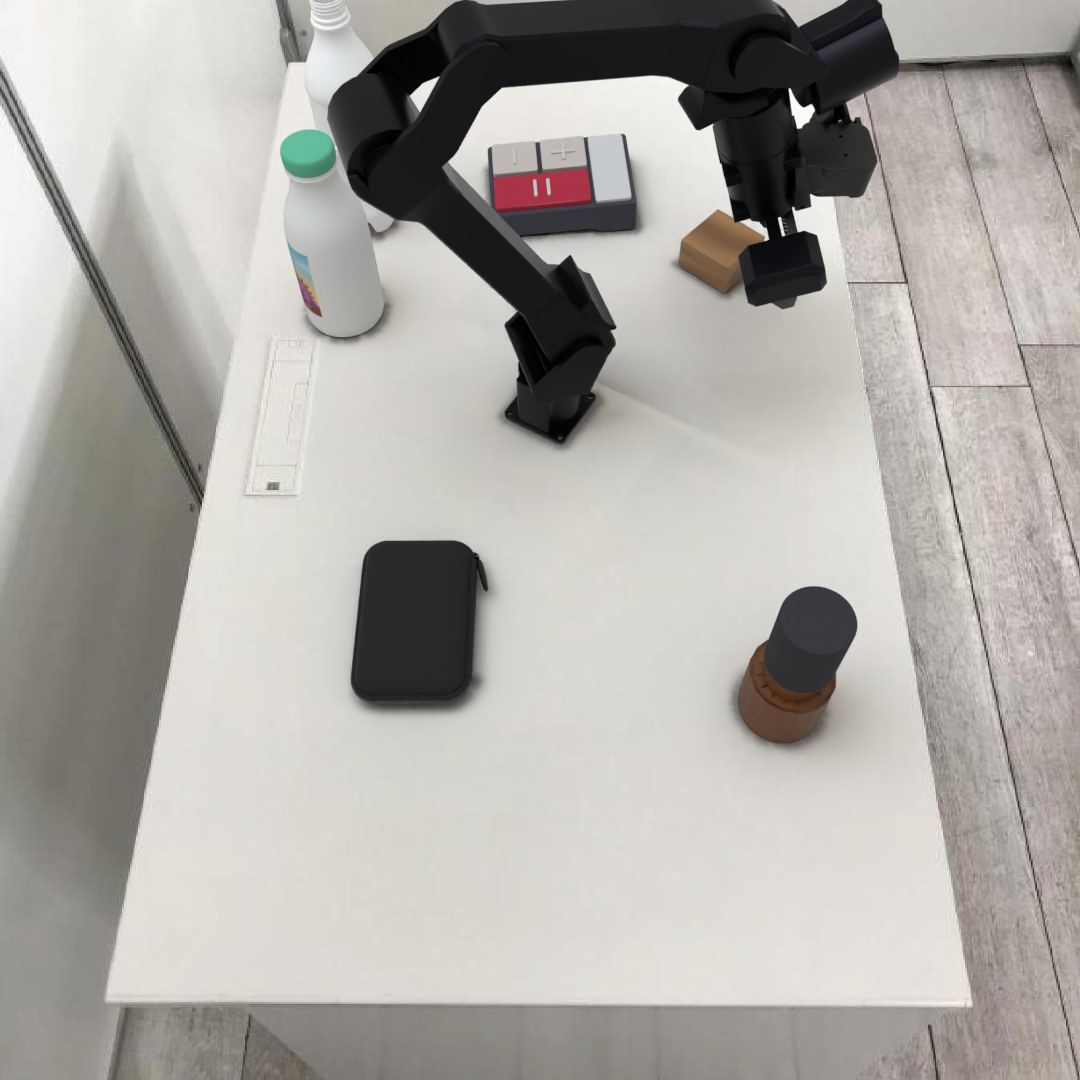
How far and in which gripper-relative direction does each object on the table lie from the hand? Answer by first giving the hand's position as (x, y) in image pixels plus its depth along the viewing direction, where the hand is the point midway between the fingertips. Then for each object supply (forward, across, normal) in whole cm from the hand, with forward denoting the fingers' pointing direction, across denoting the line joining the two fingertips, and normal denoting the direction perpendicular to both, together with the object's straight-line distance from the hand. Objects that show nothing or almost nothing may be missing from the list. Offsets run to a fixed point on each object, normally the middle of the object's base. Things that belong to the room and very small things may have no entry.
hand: (778, 265), depth 94 cm
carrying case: (-1, -28, +34) cm, 44 cm away
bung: (0, -37, +5) cm, 37 cm away
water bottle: (+2, +21, +40) cm, 45 cm away
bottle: (+6, -37, +7) cm, 38 cm away
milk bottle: (0, +8, +42) cm, 43 cm away
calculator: (+8, +22, +20) cm, 31 cm away
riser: (+11, +11, +6) cm, 17 cm away
